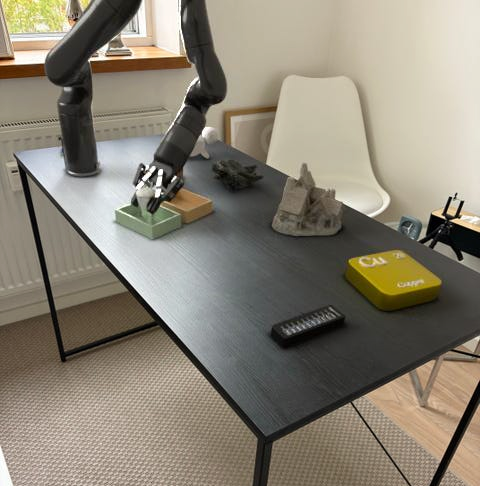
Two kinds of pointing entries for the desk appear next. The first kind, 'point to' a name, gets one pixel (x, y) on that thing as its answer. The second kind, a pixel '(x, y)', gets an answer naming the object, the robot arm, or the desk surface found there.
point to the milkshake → (145, 203)
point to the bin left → (162, 223)
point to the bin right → (189, 205)
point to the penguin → (207, 136)
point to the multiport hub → (307, 326)
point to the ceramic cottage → (307, 208)
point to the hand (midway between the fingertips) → (141, 208)
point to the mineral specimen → (235, 174)
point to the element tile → (392, 280)
